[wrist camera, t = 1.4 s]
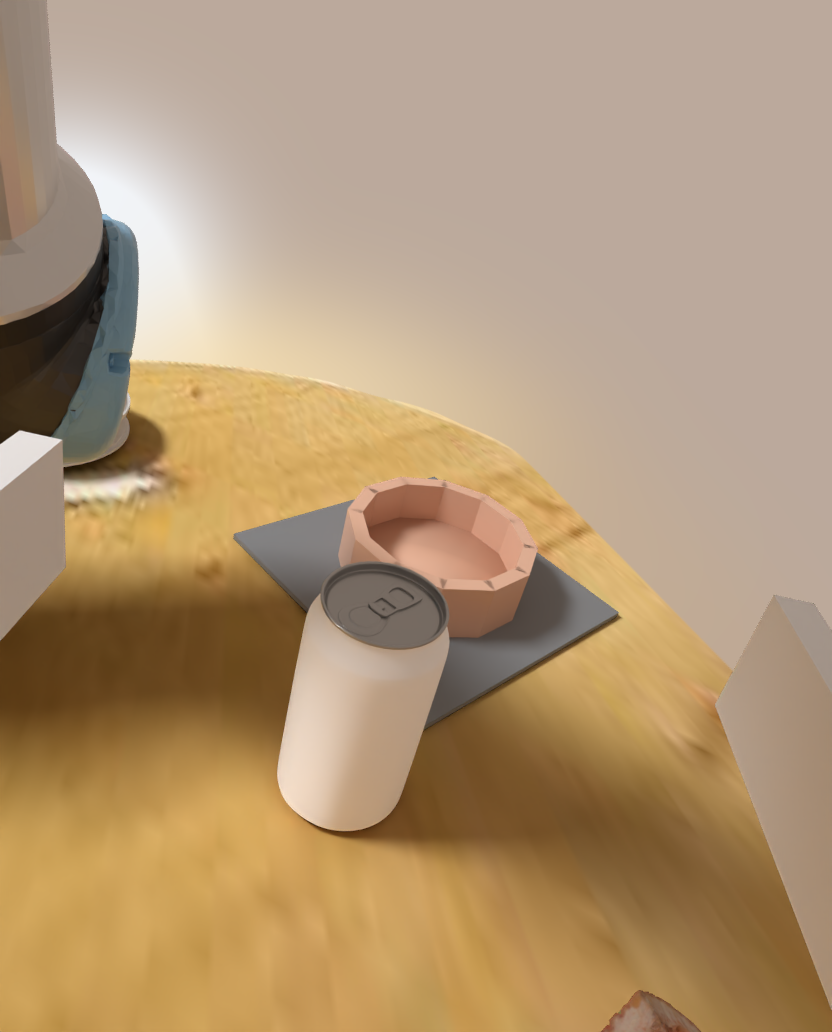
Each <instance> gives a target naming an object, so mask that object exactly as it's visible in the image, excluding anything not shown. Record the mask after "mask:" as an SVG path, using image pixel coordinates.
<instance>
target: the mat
mask: <svg viewBox="0 0 832 1032" xmlns="http://www.w3.org/2000/svg"><path fill="white" fill-rule="evenodd" d="M428 479H435V480H438V479H437V478H435V477H432V478H428ZM353 501H354V500H351V501H348V502H344V503H341V504H337V505H334V506H330V507H327V508H323V509H320V510H316V511H312V512H309V513H305V514H302V515H298V516H295V517H291V518H288V519H284V520H281V521H277V522H274V523H270V524H267V525H263V526H260V527H256V528H253V529H249V530H246V531H242V532H239V533H235V534H234V539H235V541H236V542H237V543H238V544H239V545H240V546H241V547H242V548H243V549H244V550H245V551H246V552H247V553H248V554H249V555H250V556H251V557H252V558H253V559H254V560H255V561H256V562H257V563H258V564H259V565H260V566H261V567H262V568H263V569H264V570H265V571H266V572H267V573H268V574H269V575H270V576H271V577H272V578H273V579H274V580H275V581H276V582H277V583H278V584H279V585H280V586H281V587H282V588H283V589H284V590H285V591H286V592H287V593H288V594H289V595H290V596H291V597H292V598H293V599H294V600H295V601H296V602H297V603H298V604H299V605H300V606H301V607H302V608H303V609H304V610H305V611H306V612H307V613H308V610H309V608H310V606H311V604H312V603H313V601H314V600H315V599H316V598H317V596H318V595H319V594H320V593H321V588H322V585H323V583H324V581H325V580H326V578H327V577H328V576H329V575H330V574H331V573H332V572H334V571H335V570H337V569H339V568H341V566H340V561H339V557H338V553H339V548H340V544H341V539H342V534H343V529H344V524H345V520H346V515H347V510H348V508H349V506H350V505H351V504H352V503H353ZM618 613H619V612H617V611H616V610H615V609H613V608H612V607H611V606H609V605H608V604H607V603H605V602H604V601H602V600H601V599H600V598H598V597H597V596H596V595H594V594H593V593H592V592H590V591H589V590H588V589H586V588H585V587H583V586H582V585H581V584H579V583H578V582H577V581H575V580H574V579H573V578H571V577H570V576H568V575H567V574H566V573H564V572H563V571H562V570H560V569H559V568H558V567H556V566H555V565H554V564H552V563H551V562H549V561H548V560H547V559H545V558H544V557H543V556H541V555H540V554H539V553H536V556H535V560H534V563H533V566H532V569H531V572H530V576H529V578H528V581H527V583H526V586H525V589H524V591H523V594H522V596H521V599H520V602H519V604H518V607H517V610H516V612H515V615H514V617H513V620H512V621H510V622H508V623H506V624H504V625H502V626H500V627H498V628H496V629H494V630H493V631H491V632H489V633H487V634H485V635H483V636H481V637H479V638H469V637H449V650H448V655H447V658H446V662H445V665H444V668H443V671H442V674H441V678H440V681H439V684H438V687H437V690H436V693H435V696H434V699H433V702H432V705H431V708H430V711H429V714H428V717H427V720H426V723H425V726H424V729H423V730H425V729H426V728H428V727H430V726H431V725H433V724H435V723H437V722H438V721H440V720H442V719H443V718H445V717H447V716H449V715H450V714H452V713H454V712H455V711H457V710H459V709H460V708H462V707H464V706H466V705H467V704H469V703H471V702H472V701H474V700H476V699H477V698H479V697H481V696H483V695H484V694H486V693H488V692H489V691H491V690H493V689H494V688H496V687H498V686H500V685H501V684H503V683H505V682H506V681H508V680H510V679H512V678H513V677H515V676H517V675H518V674H520V673H522V672H523V671H525V670H527V669H529V668H530V667H532V666H534V665H535V664H537V663H539V662H540V661H542V660H544V659H546V658H547V657H549V656H551V655H552V654H554V653H556V652H557V651H559V650H561V649H563V648H564V647H566V646H568V645H569V644H571V643H573V642H575V641H576V640H578V639H580V638H581V637H583V636H585V635H586V634H588V633H590V632H592V631H593V630H595V629H597V628H598V627H600V626H602V625H603V624H605V623H607V622H609V621H610V620H612V619H614V618H615V617H617V615H618Z"/></svg>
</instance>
